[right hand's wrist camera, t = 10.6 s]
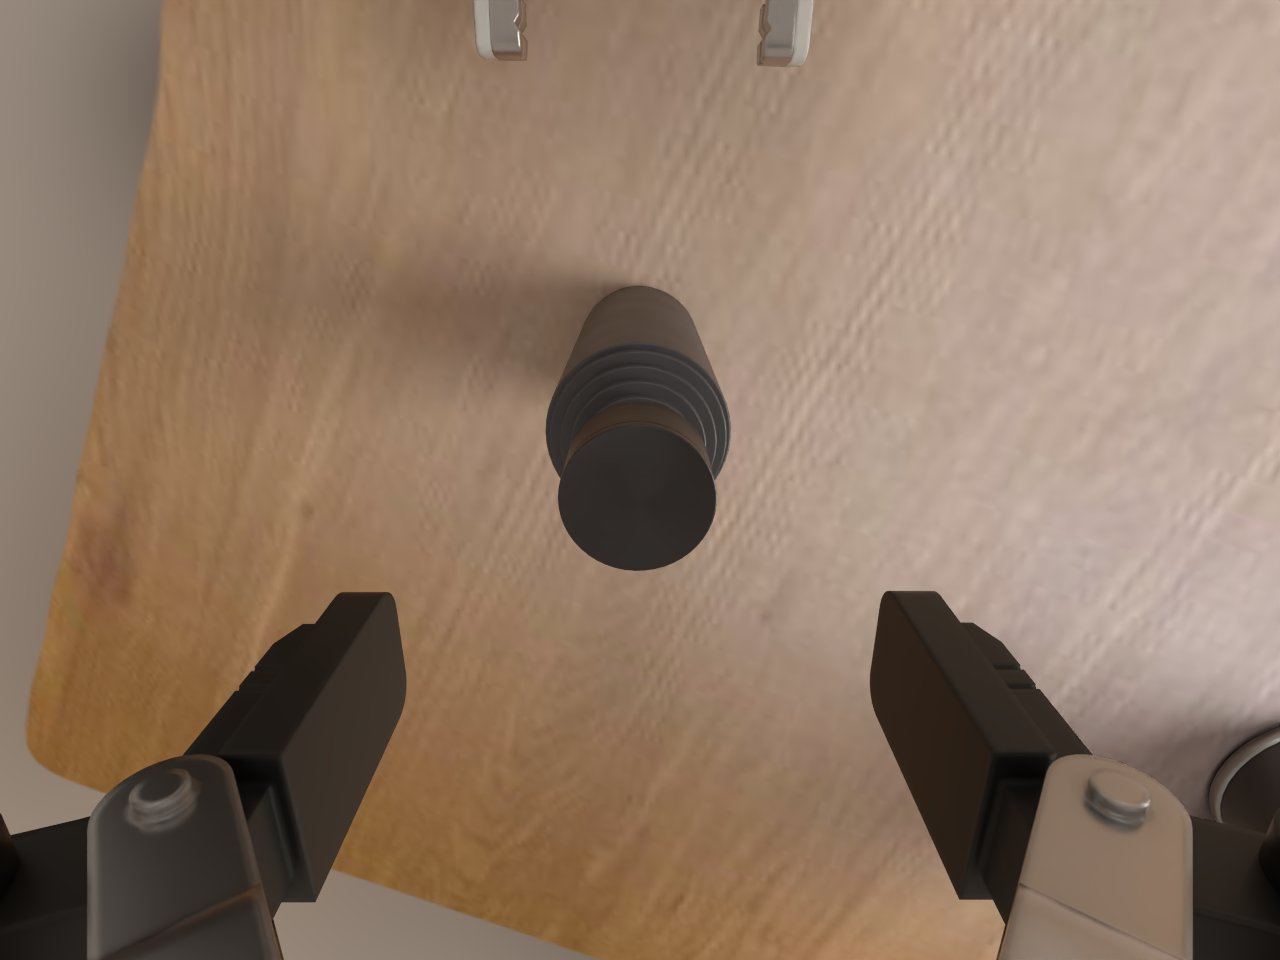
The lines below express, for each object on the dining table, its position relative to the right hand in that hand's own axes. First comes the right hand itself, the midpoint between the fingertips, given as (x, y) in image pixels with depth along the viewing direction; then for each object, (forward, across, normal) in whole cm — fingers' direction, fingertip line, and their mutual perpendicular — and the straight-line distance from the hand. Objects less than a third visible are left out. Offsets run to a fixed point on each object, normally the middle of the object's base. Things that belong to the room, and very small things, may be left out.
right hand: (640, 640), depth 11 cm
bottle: (+24, 0, 0) cm, 24 cm away
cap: (+6, 0, 0) cm, 6 cm away
